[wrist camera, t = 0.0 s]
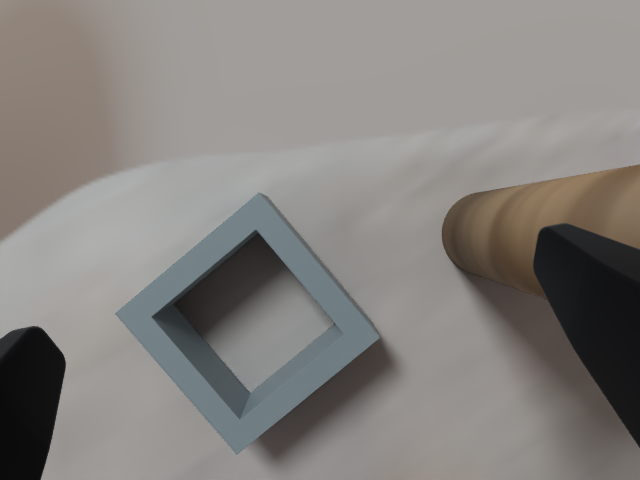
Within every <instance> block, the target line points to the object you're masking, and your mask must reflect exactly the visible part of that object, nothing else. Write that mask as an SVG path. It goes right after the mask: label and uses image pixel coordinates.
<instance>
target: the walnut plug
mask: <svg viewBox="0 0 640 480" xmlns="http://www.w3.org/2000/svg"><path fill="white" fill-rule="evenodd" d="M560 223H568V224H571V225H574V226H576V227H579V228H582V229H585V230H588V231H590V232H593V233H596V234H599V235H601V236H604V237H607V238H610V239H613V240H615V241H618V242H621V243H624V244H626V245H629V246H632V247H635V248H638V249H640V165H635V166H629V167H623V168H618V169H612V170H606V171H600V172H594V173H589V174H583V175H577V176H571V177H566V178H560V179H554V180H548V181H542V182H537V183H531V184H525V185H519V186H513V187H508V188H502V189H496V190H490V191H485V192H479V193H474V194H470V195H468V196H465V197H464V198H462V199H460V200H459V201H458V202H456V203H455V204H454V205H453V206H452V208H451V209H450V210H449V212H448V213H447V215H446V217H445V219H444V223H443V227H442V241H443V246H444V248H445V251H446V253H447V255H448V256H449V258H450V259H451V260H452V261H453V262H454V264H456V265H457V266H458V267H460V268H461V269H463V270H465V271H467V272H470V273H473V274H475V275H478V276H481V277H484V278H487V279H490V280H493V281H496V282H499V283H501V284H504V285H507V286H510V287H513V288H516V289H519V290H522V291H524V292H527V293H530V294H533V295H536V296H539V297H542V298H545V299H547V297H546V295H545V294H544V292H543V290H542V288H541V286H540V284H539V282H538V280H537V278H536V276H535V273H534V270H533V260H534V254H535V248H536V242H537V237H538V233H539V231H540V229H541V228H543V227H545V226H550V225H555V224H560ZM547 300H548V299H547Z"/></svg>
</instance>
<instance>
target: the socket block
mask: <svg viewBox="0 0 640 480" xmlns="http://www.w3.org/2000/svg"><path fill="white" fill-rule="evenodd" d="M258 233H260V235H261V236H262V237H263V238H264V239H265V241H266V242H267V243H268V244H269V245H270V247H271V248H272V249H273V250H274V251H275V253H276V254H277V255H278V256H279V257H280V258H281V260H282V261H283V262H284V263H285V264H286V266H287V267H288V268H289V269H290V270H291V272H292V273H293V274H294V275H295V276H296V278H297V279H298V280H299V281H300V282H301V284H302V285H303V286H304V287H305V288H306V289H307V291H308V292H309V293H310V294H311V295H312V297H313V298H314V299H315V300H316V301H317V303H318V304H319V305H320V306H321V307H322V309H323V310H324V311H325V312H326V313H327V315H328V316H329V317H330V318H331V319H332V320H333V322H334V323H335V324H334V325H333V326H332V327H331V328H329V329H328V330H327V331H326V332H325V333H323V334H322V335H321V336H320V337H319V338H317V339H316V340H315V341H314V342H312V343H311V344H310V345H309V346H308V347H306V348H305V349H304V350H303V351H301V352H300V353H299V354H298V355H297V356H295V357H294V358H293V359H292V360H291V361H289V362H288V363H287V364H286V365H284V366H283V367H282V368H281V369H280V370H278V371H277V372H276V373H275V374H274V375H272V376H271V377H270V378H269V379H267V380H266V381H265V382H264V383H263V384H261V385H260V386H259V387H258V388H256V389H255V390H254V391H253V392H252V393H249V392H248V390H247V389H246V388H245V387H244V386H243V385H242V383H241V382H240V381H239V380H238V379H237V378H236V376H235V375H234V374H233V373H232V372H231V371H230V369H229V368H228V367H227V366H226V365H225V364H224V362H223V361H222V360H221V359H220V358H219V357H218V355H217V354H216V353H215V352H214V351H213V350H212V348H211V347H210V346H209V345H208V344H207V343H206V341H205V340H204V339H203V338H202V337H201V336H200V334H199V333H198V332H197V331H196V330H195V329H194V327H193V326H192V325H191V324H190V323H189V322H188V320H187V319H186V318H185V317H184V316H183V315H182V313H181V312H180V311H179V310H178V309H177V308H176V306H175V305H174V303H175V302H177V301H178V300H179V299H180V298H181V297H182V296H184V295H185V294H186V293H187V292H188V291H190V290H191V289H192V288H193V287H194V286H196V285H197V284H198V283H199V282H200V281H202V280H203V279H204V278H205V277H206V276H208V275H209V274H210V273H211V272H212V271H214V270H215V269H216V268H217V267H218V266H220V265H221V264H222V263H223V262H224V261H226V260H227V259H228V258H229V257H230V256H232V255H233V254H234V253H235V252H236V251H238V250H239V249H240V248H241V247H242V246H244V245H245V244H246V243H247V242H248V241H249V240H251V239H252V238H253V237H254V236H255V235H257V234H258ZM115 314H116V315H117V317H118V318H119V319H120V320H121V321H122V322H123V324H124V325H125V326H126V327H127V328H128V329H129V330H130V332H131V333H132V334H133V335H134V336H135V337H136V339H137V340H138V341H139V342H140V343H141V344H142V346H143V347H144V348H145V349H146V350H147V351H148V352H149V354H150V355H151V356H152V357H153V358H154V359H155V361H156V362H157V363H158V364H159V365H160V366H161V368H162V369H163V370H164V371H165V372H166V373H167V374H168V376H169V377H170V378H171V379H172V380H173V381H174V383H175V384H176V385H177V386H178V387H179V388H180V389H181V391H182V392H183V393H184V394H185V395H186V396H187V398H188V399H189V400H190V401H191V402H192V403H193V405H194V406H195V407H196V408H197V409H198V410H199V411H200V413H201V414H202V415H203V416H204V417H205V418H206V420H207V421H208V422H209V423H210V424H211V425H212V427H213V428H214V429H215V430H216V431H217V432H218V433H219V435H220V436H221V437H222V438H223V439H224V440H225V442H226V443H227V444H228V445H229V446H230V447H231V449H232V450H233V451H234V452H235V453H236V454H238V453H240V452H241V451H242V450H243V449H244V448H246V447H247V446H248V445H249V444H251V443H252V442H253V441H254V440H255V439H257V438H258V437H259V436H260V435H262V434H263V433H264V432H265V431H266V430H268V429H269V428H270V427H271V426H273V425H274V424H275V423H276V422H277V421H279V420H280V419H281V418H282V417H284V416H285V415H286V414H287V413H289V412H290V411H291V410H292V409H293V408H295V407H296V406H297V405H298V404H300V403H301V402H302V401H303V400H304V399H306V398H307V397H308V396H309V395H311V394H312V393H313V392H314V391H315V390H317V389H318V388H319V387H320V386H322V385H323V384H324V383H325V382H326V381H328V380H329V379H330V378H331V377H333V376H334V375H335V374H336V373H337V372H339V371H340V370H341V369H342V368H344V367H345V366H346V365H347V364H348V363H350V362H351V361H352V360H353V359H355V358H356V357H357V356H358V355H359V354H361V353H362V352H363V351H364V350H366V349H367V348H368V347H369V346H370V345H372V344H373V343H374V342H375V341H377V340H378V339H379V338H380V336H379V334H378V332H377V331H376V329H375V327H374V325H373V323H372V321H371V320H370V319H369V318H368V317H367V315H366V314H365V313H364V312H363V311H362V309H361V308H360V307H359V306H358V305H357V303H356V302H355V301H354V300H353V299H352V297H351V296H350V295H349V294H348V293H347V291H346V290H345V289H344V288H343V287H342V285H341V284H340V283H339V282H338V281H337V279H336V278H335V277H334V276H333V275H332V273H331V272H330V271H329V270H328V269H327V267H326V266H325V265H324V264H323V263H322V261H321V260H320V259H319V258H318V257H317V255H316V254H315V253H314V252H313V251H312V249H311V248H310V247H309V246H308V245H307V243H306V242H305V241H304V240H303V239H302V237H301V236H300V235H299V234H298V233H297V231H296V230H295V229H294V228H293V227H292V225H291V224H290V223H289V222H288V221H287V219H286V218H285V217H284V216H283V215H282V213H281V212H280V211H279V210H278V209H277V207H276V206H275V205H274V204H273V203H272V201H271V200H270V199H269V198H268V197H267V196H265V195H263V194H261V193H258V194H257V195H256V196H254V197H253V198H252V199H251V200H250V201H248V202H247V203H246V204H245V205H244V206H243V207H241V208H240V209H239V210H238V211H237V212H235V213H234V214H233V215H232V216H231V217H229V218H228V219H227V220H226V221H225V222H223V223H222V224H221V225H220V226H219V227H217V228H216V229H215V230H214V231H213V232H212V233H210V234H209V235H208V236H207V237H206V238H204V239H203V240H202V241H201V242H200V243H198V244H197V245H196V246H195V247H194V248H192V249H191V250H190V251H189V252H188V253H187V254H185V255H184V256H183V257H182V258H181V259H179V260H178V261H177V262H176V263H175V264H173V265H172V266H171V267H170V268H169V269H167V270H166V271H165V272H164V273H163V274H161V275H160V276H159V277H158V278H157V279H156V280H154V281H153V282H152V283H151V284H150V285H148V286H147V287H146V288H145V289H144V290H142V291H141V292H140V293H139V294H138V295H136V296H135V297H134V298H133V299H132V300H131V301H129V302H128V303H127V304H126V305H125V306H123V307H122V308H121V309H120V310H119V311H117V312H116V313H115Z"/></svg>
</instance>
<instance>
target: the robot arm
mask: <svg viewBox="0 0 640 480" xmlns="http://www.w3.org/2000/svg"><path fill="white" fill-rule="evenodd" d="M533 270H534V273H535V276H536V278H537V280H538V282H539V284H540V286H541V288H542V290H543V292H544V294H545V295H546V297H547V299H548V301H549V303H550V305H551V307H552V309H553V311H554V313H555V315H556V317H557V319H558V320H559V322H560V324H561V326H562V328H563V330H564V332H565V334H566V336H567V338H568V339H569V341H570V343H571V345H572V347H573V348H574V350H575V351H576V353H577V355H578V356H579V358H580V359H581V361H582V362H583V364H584V365H585V367H586V368H587V370H588V371H589V373H590V374H591V376H592V377H593V379H594V380H595V382H596V383H597V385H598V386H599V388H600V389H601V391H602V392H603V394H604V395H605V397H606V398H607V400H608V401H609V403H610V404H611V406H612V407H613V409H614V410H615V412H616V413H617V415H618V416H619V418H620V419H621V421H622V422H623V424H624V425H625V427H626V428H627V430H628V431H629V433H630V434H631V436H632V437H633V439H634V440H635V442H636V443H637V444H638V446H639V447H640V249H638V248H635V247H632V246H629V245H626V244H624V243H621V242H618V241H615V240H613V239H610V238H607V237H604V236H601V235H599V234H596V233H593V232H590V231H588V230H585V229H582V228H579V227H576V226H574V225H571V224H568V223H560V224H555V225H550V226H545V227H543V228H541V229H540V231H539V233H538V237H537V242H536V248H535V254H534V260H533ZM65 368H66V362H65V358H64V355H63V353H62V352H61V351H60V350H59V348H58V347H57V346H56V345H55V343H54V342H53V341H52V340H51V338H50V337H49V336H48V335H47V333H46V332H45V331H44V330H43V329H42V328H40V327H38V326H31V327H26V328H21V329H16V330H13V331H11V332H9V333H8V334H6V335H5V336H4V337H3V338H1V339H0V480H41V477H42V473H43V470H44V467H45V463H46V460H47V456H48V452H49V449H50V444H51V440H52V435H53V430H54V425H55V420H56V415H57V410H58V404H59V399H60V394H61V389H62V384H63V379H64V374H65Z"/></svg>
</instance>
